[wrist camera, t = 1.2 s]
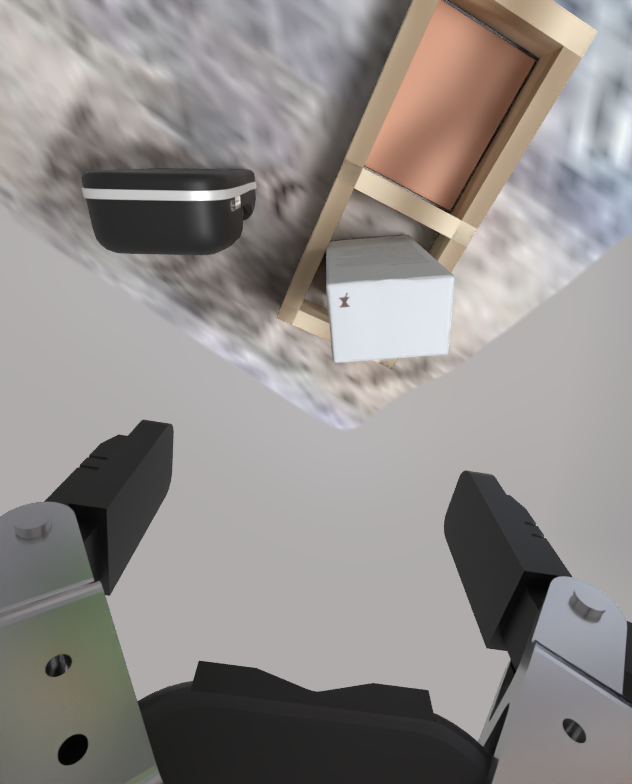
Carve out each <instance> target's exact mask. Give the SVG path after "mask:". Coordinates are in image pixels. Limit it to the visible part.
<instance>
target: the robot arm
mask: <svg viewBox="0 0 632 784" xmlns="http://www.w3.org/2000/svg"><path fill="white" fill-rule="evenodd" d="M172 458H173V426H172V424H168V423H161V422H155V421H149V420H142V421H141V422H140V423H139V424H138V425H137V426H136V427H135V429H134V430H133V431H132V432H131V433H130V434H129V435H128V436H124V435H117V436H115V437H113V438H111V439H109V440H107V441H105V442H103V443H101V444H100V445H99V446H98V447H97V448H96V449H95V450H94V451H93V452H92V453H91V454H90V456H89V458H86V459H85V460H84V461H83V463H81V464H80V467H79V468H76V470H75V471H74V472H73V473H72V474H71V475H70V476H69V477H68V478H67V479H66V480H65V481H64V482H63V483H62V484H61V485H60V486H59V487H58V488H57V489H56V490H55V491H54V492H53V493H52V495H50V497H48V498H47V499H46V500H45V501H44V502H36V503H31V504H27V505H23V506H20V507H18V508H15V509H13V510H11V511H8V512H7V513H5V514H3V515H2V516H1V517H0V784H632V623H630V622H628V621H626V619H625V616H624V615H623V613H622V611H621V610H620V609H619V607H618V606H617V605H616V604H615V602H613V601H612V600H611V599H610V598H609V597H608V596H607V595H605V594H604V593H603V592H602V591H600V590H599V589H597V588H596V587H594V586H592V585H591V584H588V583H586V582H584V581H582V580H579V579H576V578H573V577H572V576H571V574H570V573H569V571H568V570H567V568H566V567H565V565H564V564H563V563H562V561H561V560H560V558H559V557H558V555H557V554H556V552H555V551H554V549H553V548H552V547H551V545H550V543H549V542H548V541H547V539H546V538H544V535H543V533H542V532H541V530H540V529H539V527H538V526H536V523H535V522H534V520H533V519H532V517H531V516H530V514H529V513H528V511H527V510H526V509H525V508H524V507H523V506H522V505H520V503H518V502H517V501H516V500H515V499H514V498H513V497H511V496H510V495H506V493H505V492H504V490H503V489H502V487H501V486H500V484H499V483H498V481H497V479H496V478H495V477H494V476H493V475H490V474H484V473H478V472H471V471H463V472H462V474H461V475H460V477H459V480H458V482H457V485H456V488H455V491H454V493H453V496H452V499H451V502H450V504H449V507H448V510H447V513H446V516H445V521H444V533H445V538H446V540H447V543H448V546H449V549H450V551H451V554H452V556H453V559H454V562H455V565H456V567H457V570H458V573H459V576H460V578H461V581H462V583H463V586H464V589H465V592H466V594H467V597H468V600H469V602H470V605H471V608H472V610H473V613H474V616H475V618H476V621H477V624H478V626H479V629H480V632H481V634H482V637H483V640H484V643H485V645H486V648H489V649H496V650H504V651H508V653H509V656H510V658H511V659H510V661H509V663H508V665H507V667H506V669H505V671H504V674H503V677H502V679H501V682H500V685H499V687H498V690H497V693H496V696H495V698H494V701H493V704H492V706H491V709H490V712H489V714H488V717H487V720H486V722H485V725H484V728H483V730H482V733H481V735H480V738H479V740H478V742H477V741H476V740H475V739H474V738H473V737H471V736H470V735H469V734H468V733H467V732H465V731H464V730H462V729H461V728H459V727H458V726H457V725H455V724H454V723H452V722H450V721H448V720H447V719H445V718H443V717H441V716H440V715H437V714H435V713H433V710H432V705H431V701H430V696H429V691H428V690H422V689H413V688H406V687H398V686H391V685H383V684H375V683H372V684H365V685H359V686H352V687H346V688H340V689H333V690H327V691H321V692H316V691H311V690H308V689H305V688H303V687H300V686H298V685H296V684H293V683H291V682H289V681H286V680H284V679H281V678H279V677H277V676H274V675H271V674H269V673H267V672H265V671H262V670H260V669H257V668H251V667H243V666H236V665H228V664H220V663H213V662H204V661H199V662H198V666H197V669H196V673H195V676H194V680H193V681H190V682H184V683H180V684H176V685H173V686H169V687H166V688H164V689H161V690H159V691H156V692H154V693H152V694H150V695H148V696H146V697H144V698H143V699H141V700H139V701H137V699H136V696H135V692H134V689H133V686H132V682H131V680H130V676H129V673H128V669H127V666H126V663H125V659H124V656H123V653H122V650H121V646H120V643H119V640H118V636H117V633H116V630H115V626H114V623H113V620H112V616H111V613H110V610H109V607H108V603H107V600H106V597H105V595H110V594H111V593H112V591H113V589H114V587H115V585H116V584H117V582H118V580H119V578H120V577H121V575H122V573H123V571H124V569H125V568H126V566H127V564H128V562H129V560H130V559H131V557H132V555H133V553H134V552H135V550H136V548H137V546H138V544H139V543H140V541H141V539H142V537H143V536H144V534H145V532H146V530H147V529H148V527H149V525H150V523H151V521H152V520H153V518H154V516H155V514H156V513H157V511H158V509H159V507H160V505H161V504H162V502H163V500H164V498H165V496H166V494H167V492H168V489H169V486H170V482H171V476H172Z"/></svg>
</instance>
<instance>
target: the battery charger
mask: <svg viewBox="0 0 632 784" xmlns="http://www.w3.org/2000/svg"><path fill="white" fill-rule="evenodd" d="M82 183H83V187H82V193H83V197H84V198H86V200H87V205H88V209H89V214H90V218H91V222H92V227H93V230H94V233H95V236H96V239H97V240H98V241H99V243H100V244H101V245H102V246H103V247H105V248H106V249H107V250H110V251H113V252H116V253H129V254H173V255H210V254H215V253H217V252H220V251H222V250H224V249H226V248H228V247H230V246H231V245H233V243H234V242H235V241H236V240H237V239H238V238H239V237H240V236H241V233H242V229H243V220H246V219H248V218H249V217H250V216H251V215H252V213H253V210H254V206H255V200H256V196H255V189H256V182H255V177H254V173H253V172H252V171H251V170H222V169H167V168H159V169H126V170H96V171H86V172H84V173H83V175H82Z"/></svg>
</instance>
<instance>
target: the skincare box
mask: <svg viewBox="0 0 632 784" xmlns="http://www.w3.org/2000/svg"><path fill="white" fill-rule="evenodd" d="M326 278H327V280H326V293H327V303H328V314H329V325H330V336H331V347H332V357H333V361H334V362H335V363H341V362H355V361H369V360H382V359H393V358H405V357H418V356H431V355H446V354H448V347H449V337H450V326H451V314H452V304H453V292H454V281H455V276H454V275H453V274H452V273H451V272H449V271H448V270H447V269H446V268H445V267H444V266H442V265H441V264H440V263H439V262H438V261H437V260H436V259H435V258H433V257H432V256H431V255H430V254H429V253H428V252H427V251H426V250H424V249H423V248H422V247H421V246H420V245H419V244H418V243H417V242H416V241H415V240H413V239H412V238H411V237H410V236H409V235H400V236H388V237H377V238H364V239H352V240H341V241H330V242H329V244H328V247H327V249H326Z"/></svg>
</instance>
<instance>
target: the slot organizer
mask: <svg viewBox="0 0 632 784" xmlns="http://www.w3.org/2000/svg"><path fill="white" fill-rule="evenodd" d="M449 1H450V2H452V3H453V4H455V5H456V6H458V7H460V8H461V9H463V10H464V11H466V12H467V13H469V14H470V15H472V16H474V17H475V18H477V19H478V20H480V21H481V22H483V23H485V24H486V25H488V26H489V27H491V28H492V29H494V30H495V31H497V32H499V33H500V34H502V35H503V36H505V37H506V38H508V39H509V40H511V41H513V42H514V43H516V44H517V45H519V46H520V47H522V48H524V49H525V50H527V51H528V52H530V53H531V54H533V55H534V56H536V57H538V58H539V59H538V61H537V63H536V64H535V66H534V68H533V70H532V71H531V73H530V75H529V77H528V79H527V80H526V82H525V84H524V86H523V87H522V89H521V91H520V93H519V94H518V96H517V98H516V100H515V101H514V103H513V105H512V107H511V108H510V110H509V112H508V114H507V115H506V117H505V119H504V121H503V122H502V124H501V126H500V128H499V129H498V131H497V133H496V135H495V136H494V138H493V140H492V142H491V143H490V145H489V147H488V149H487V150H486V152H485V154H484V156H483V157H482V159H481V161H480V163H479V164H478V166H477V168H476V170H475V171H474V173H473V175H472V177H471V178H470V180H469V182H468V184H467V185H466V187H465V189H464V191H463V192H462V194H461V196H460V198H459V199H458V201H457V203H456V205H455V206H454V208H453V210H452V212H451V214H448V213H447V212H445V211H443V210H441V209H439V208H437V207H435V206H433V205H432V204H430V203H428V202H426V201H424V200H422V199H420V198H418V197H416V196H415V195H413V194H411V193H409V192H407V191H405V190H403V189H401V188H400V187H398V186H396V185H394V184H392V183H390V182H388V181H386V180H385V179H383V178H381V177H379V176H377V175H375V174H373V173H371V172H370V171H368V170H366V169H364V168H363V167H364V165H365V166H367V167H369V168H371V169H372V170H374V171H376V172H378V173H380V174H382V175H384V176H386V177H387V178H389V179H391V180H393V181H395V182H397V183H399V184H400V185H402V186H404V187H406V188H408V189H410V190H412V191H414V192H415V193H417V194H419V195H421V196H423V197H425V198H427V199H429V200H430V201H432V202H434V203H436V204H438V205H440V206H442V207H444V208H445V209H447V210H449V211H450V210H451V208H452V207H453V205H454V203H455V201H456V200H457V198H458V196H459V194H460V193H461V191H462V189H463V187H464V186H465V184H466V182H467V180H468V179H469V177H470V175H471V173H472V172H473V170H474V168H475V166H476V165H477V163H478V161H479V159H480V157H481V156H482V154H483V152H484V150H485V149H486V147H487V145H488V143H489V142H490V140H491V138H492V136H493V135H494V133H495V131H496V129H497V128H498V126H499V124H500V122H501V121H502V119H503V117H504V115H505V113H506V112H507V110H508V108H509V106H510V105H511V103H512V101H513V99H514V98H515V96H516V94H517V92H518V91H519V89H520V87H521V85H522V84H523V82H524V80H525V78H526V77H527V75H528V73H529V71H530V70H531V68H532V66H533V64H534V62H535V61H536V60H534V59H533V58H531V57H530V56H528V55H526V54H525V53H523V52H522V51H520V50H519V49H517V48H515V47H514V46H512V45H511V44H509V43H508V42H506V41H505V40H503V39H501V38H500V37H498V36H497V35H495V34H494V33H492V32H490V31H489V30H487V29H486V28H484V27H483V26H481V25H479V24H478V23H476V22H475V21H473V20H472V19H470V18H469V17H467V16H465V15H464V14H462V13H461V12H459V11H458V10H456V9H454V8H453V7H451V6H450V5H448V4H447V3H445V2H443V1H442V0H412V1H411V3H410V5H409V8H408V10H407V12H406V15H405V17H404V19H403V22H402V24H401V26H400V29H399V31H398V33H397V36H396V38H395V40H394V43H393V45H392V47H391V50H390V52H389V54H388V57H387V59H386V61H385V64H384V66H383V68H382V71H381V73H380V75H379V78H378V80H377V82H376V85H375V87H374V89H373V92H372V94H371V96H370V99H369V101H368V103H367V106H366V108H365V110H364V113H363V115H362V117H361V120H360V122H359V124H358V127H357V129H356V131H355V134H354V136H353V138H352V141H351V143H350V145H349V148H348V150H347V152H346V155H345V157H344V159H343V162H342V164H341V166H340V169H339V171H338V173H337V176H336V178H335V180H334V182H333V185H332V187H331V189H330V192H329V194H328V196H327V199H326V201H325V203H324V206H323V208H322V210H321V213H320V215H319V217H318V220H317V222H316V224H315V227H314V229H313V231H312V234H311V236H310V238H309V241H308V243H307V245H306V248H305V250H304V252H303V255H302V257H301V259H300V262H299V264H298V266H297V269H296V271H295V273H294V276H293V278H292V280H291V283H290V285H289V287H288V290H287V292H286V294H285V297H284V299H283V301H282V304H281V306H280V309H279V312H278V315H277V318H278V319H281V320H283V321H285V322H287V323H290V324H292V325H294V326H296V327H299V328H301V329H303V330H305V331H308V332H310V333H312V334H315V335H317V336H319V337H321V338H324V339H326V340H328V341H330V342H331V336H330V325H329V314H328V310H327V309H324V308H322V307H320V306H318V305H316V304H314V303H311V302H309V301H307V300H305V299H304V297H305V295H306V293H307V291H308V289H309V286H310V284H311V282H312V280H313V278H314V275H315V273H316V271H317V269H318V267H319V264H320V262H321V260H322V258H323V255H324V253H325V251H326V249H327V247H328V244H329V242H330V240H331V238H332V236H333V233H334V231H335V229H336V227H337V225H338V222H339V220H340V218H341V216H342V214H343V211H344V209H345V207H346V205H347V203H348V200H349V198H350V196H351V194H352V192H353V189H354V188H355V189H357V190H358V191H360V192H362V193H364V194H366V195H368V196H370V197H372V198H374V199H376V200H378V201H380V202H381V203H383V204H385V205H387V206H389V207H391V208H393V209H395V210H397V211H399V212H401V213H403V214H405V215H406V216H408V217H410V218H412V219H414V220H416V221H418V222H420V223H422V224H424V225H426V226H428V227H429V228H431V229H433V230H435V231H437V232H439V235H438V236H437V238H436V240H435V242H434V243H433V245H432V247H431V249H430V250H429V252H428V253H429V254H430V255H431V256H432V257H433V258H435V259H436V260H437V261H438V262H439V263H440V264H441V265H442V266H444V267H445V268H446V269H447V270H448V271H449V272H452V270H453V268H454V267H455V265H456V263H457V262H458V260H459V259H460V257H461V255H462V254H463V252H464V250H465V249H466V247H467V245H468V244H469V242H470V241H471V239H472V237H473V236H474V234H475V232H476V231H477V229H478V227H479V226H480V224H481V222H482V221H483V219H484V218H485V216H486V214H487V213H488V211H489V209H490V208H491V206H492V204H493V203H494V201H495V200H496V198H497V196H498V195H499V193H500V191H501V190H502V188H503V186H504V185H505V183H506V181H507V180H508V178H509V177H510V175H511V173H512V172H513V170H514V168H515V167H516V165H517V163H518V162H519V160H520V159H521V157H522V155H523V154H524V152H525V150H526V149H527V147H528V145H529V144H530V142H531V140H532V139H533V137H534V136H535V134H536V132H537V131H538V129H539V127H540V126H541V124H542V122H543V121H544V119H545V118H546V116H547V114H548V113H549V111H550V109H551V108H552V106H553V104H554V103H555V101H556V99H557V98H558V96H559V95H560V93H561V91H562V90H563V88H564V86H565V85H566V83H567V81H568V80H569V78H570V77H571V75H572V73H573V72H574V70H575V68H576V67H577V65H578V63H579V62H580V60H581V59H582V57H583V55H584V54H585V52H586V50H587V49H588V47H589V45H590V44H591V42H592V40H593V39H594V37H595V36H596V34H597V32H598V31H597V30H595V29H594V28H592V27H591V26H589V25H588V24H586V23H585V22H583V21H582V20H580V19H579V18H577V17H576V16H574V15H573V14H571V13H570V12H568V11H567V10H565V9H564V8H563V7H561V6H560V5H558V4H557V3H555V2H554V1H552V0H449ZM398 359H399V358H393V359H382V360H373V361H376V362H378V363H380V364H382V365H385V366H387V367H389V368H391V369H392V368H393V367H394V365H395V363H396V362H397V360H398Z"/></svg>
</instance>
